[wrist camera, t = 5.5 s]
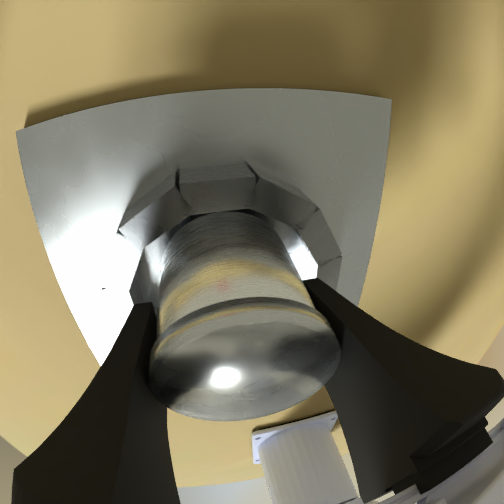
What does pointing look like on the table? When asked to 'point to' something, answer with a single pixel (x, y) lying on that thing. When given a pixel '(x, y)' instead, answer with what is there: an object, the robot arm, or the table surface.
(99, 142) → the flange plate
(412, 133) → the table surface
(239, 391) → the round metal knob
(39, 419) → the table surface
